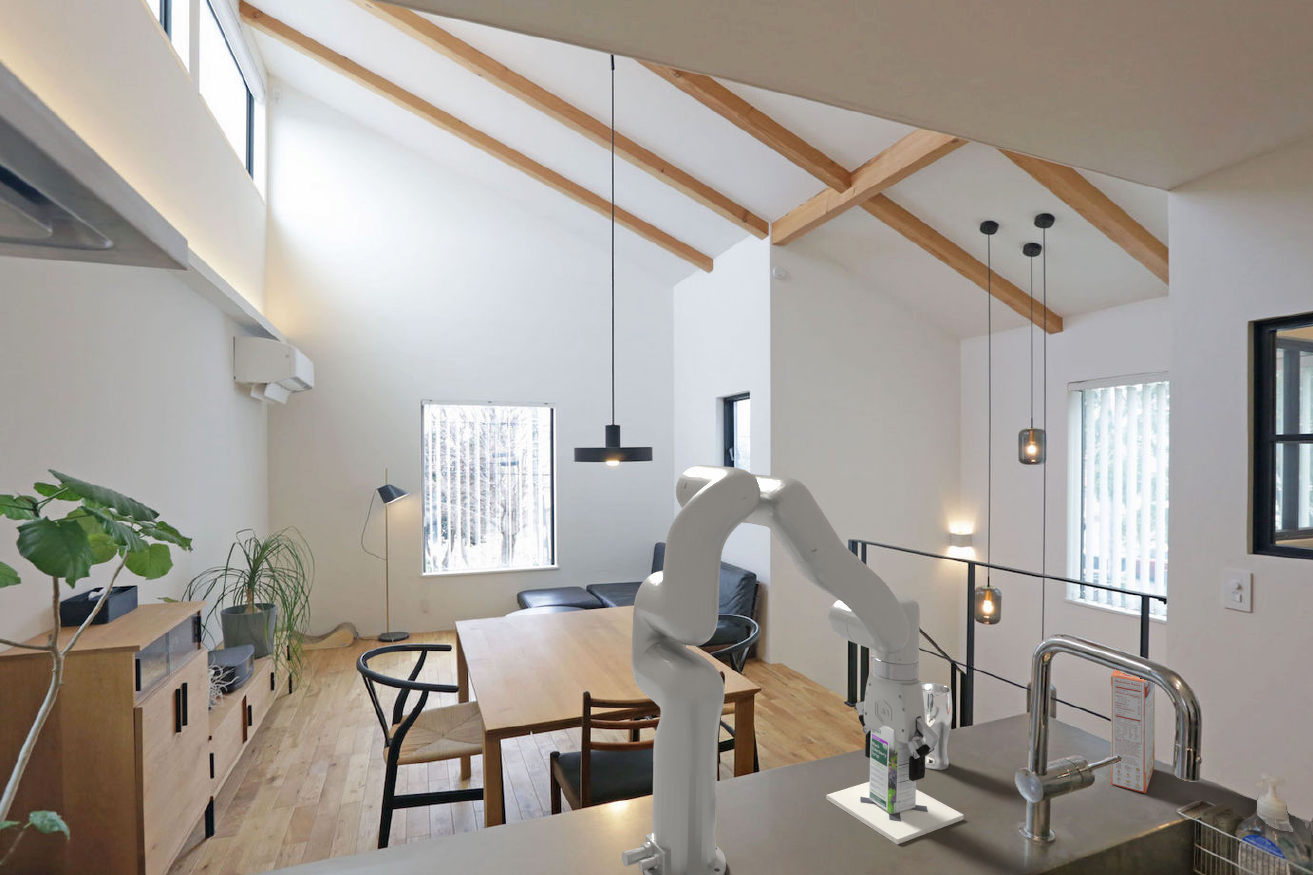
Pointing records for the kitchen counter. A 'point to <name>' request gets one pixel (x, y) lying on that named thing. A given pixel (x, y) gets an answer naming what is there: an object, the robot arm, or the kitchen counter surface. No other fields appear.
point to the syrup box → (890, 772)
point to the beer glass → (937, 721)
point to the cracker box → (1132, 731)
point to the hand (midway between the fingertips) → (894, 766)
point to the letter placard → (896, 825)
